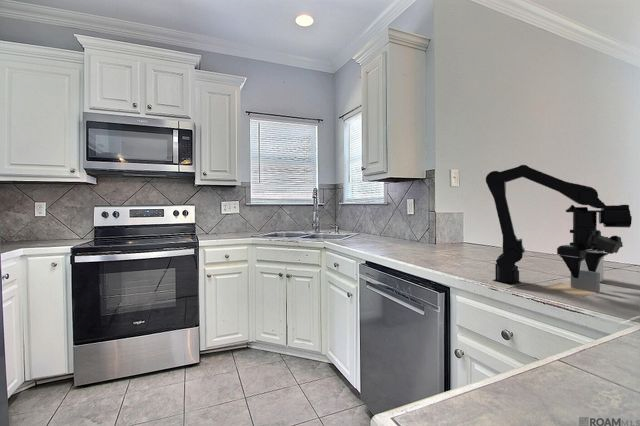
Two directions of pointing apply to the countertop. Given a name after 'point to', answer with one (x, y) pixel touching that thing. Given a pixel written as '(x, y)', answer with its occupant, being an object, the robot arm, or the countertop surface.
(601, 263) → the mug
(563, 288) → the cork mat
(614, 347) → the countertop surface
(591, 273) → the slate tile
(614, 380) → the countertop surface
